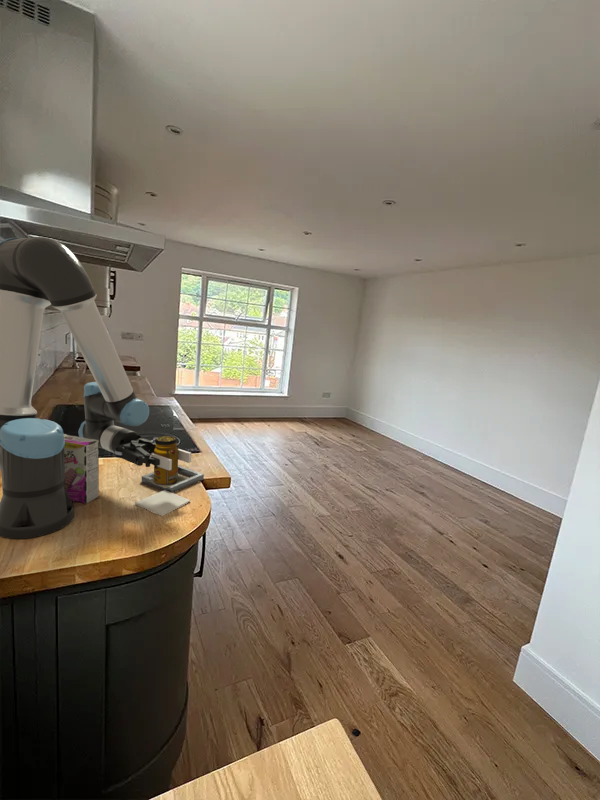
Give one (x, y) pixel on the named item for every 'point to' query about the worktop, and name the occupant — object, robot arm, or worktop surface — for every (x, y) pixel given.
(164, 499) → the tile
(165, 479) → the condiment
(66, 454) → the candy bar box
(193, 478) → the socket
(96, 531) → the worktop surface
